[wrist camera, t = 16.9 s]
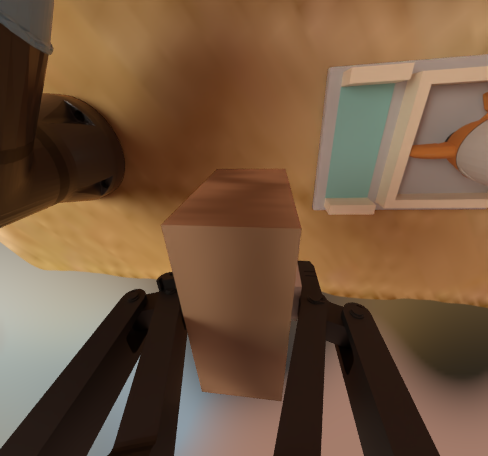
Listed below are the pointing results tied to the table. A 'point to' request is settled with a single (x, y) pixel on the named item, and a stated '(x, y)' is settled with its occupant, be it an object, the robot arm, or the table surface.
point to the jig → (397, 135)
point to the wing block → (237, 278)
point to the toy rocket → (463, 149)
